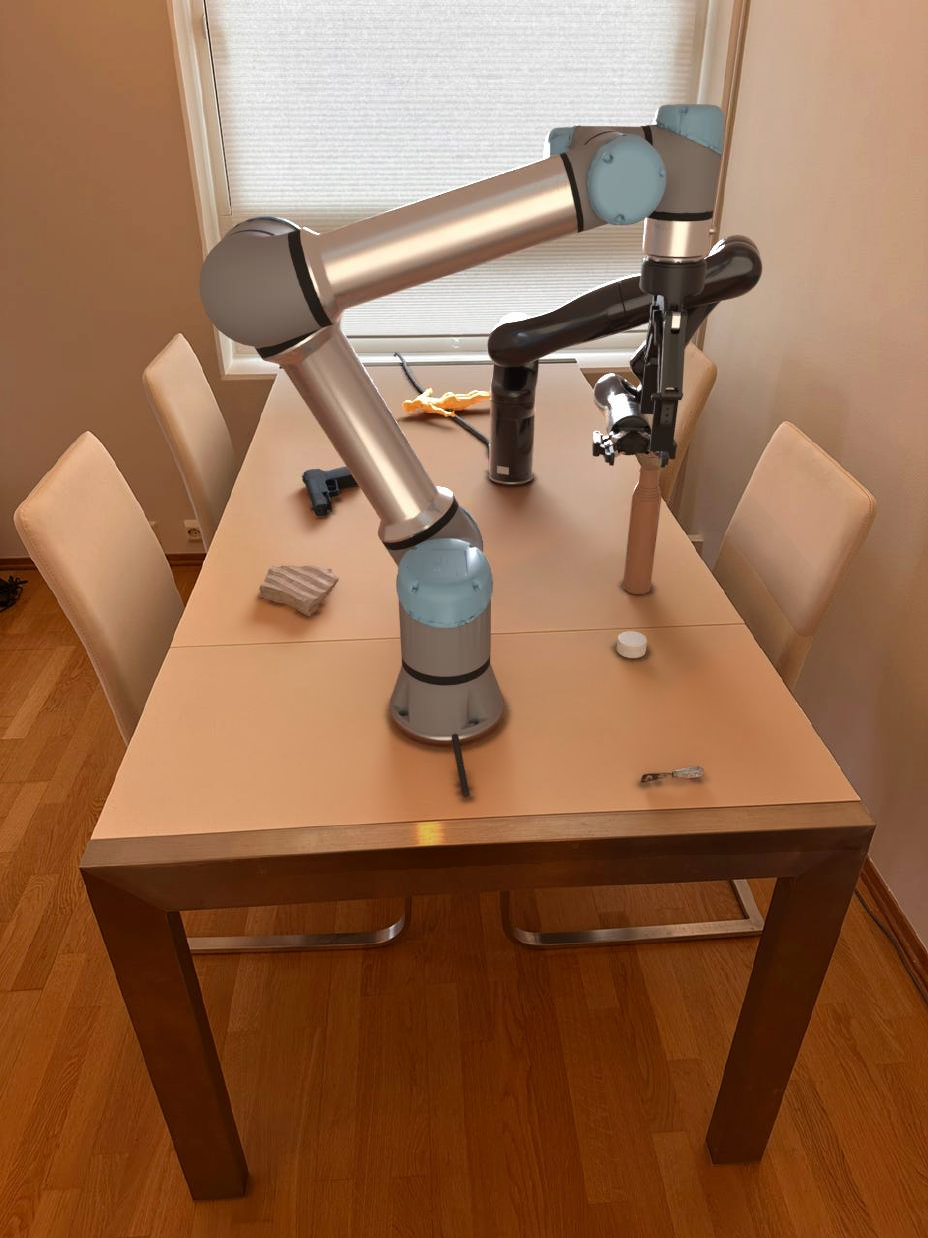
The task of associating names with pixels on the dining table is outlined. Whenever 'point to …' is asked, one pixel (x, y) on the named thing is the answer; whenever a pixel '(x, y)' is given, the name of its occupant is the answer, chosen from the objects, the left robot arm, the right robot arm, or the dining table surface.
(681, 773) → the putty knife
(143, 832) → the dining table surface
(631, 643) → the cap
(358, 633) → the dining table surface
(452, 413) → the human figure
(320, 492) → the handgun
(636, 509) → the bottle
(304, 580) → the stone
